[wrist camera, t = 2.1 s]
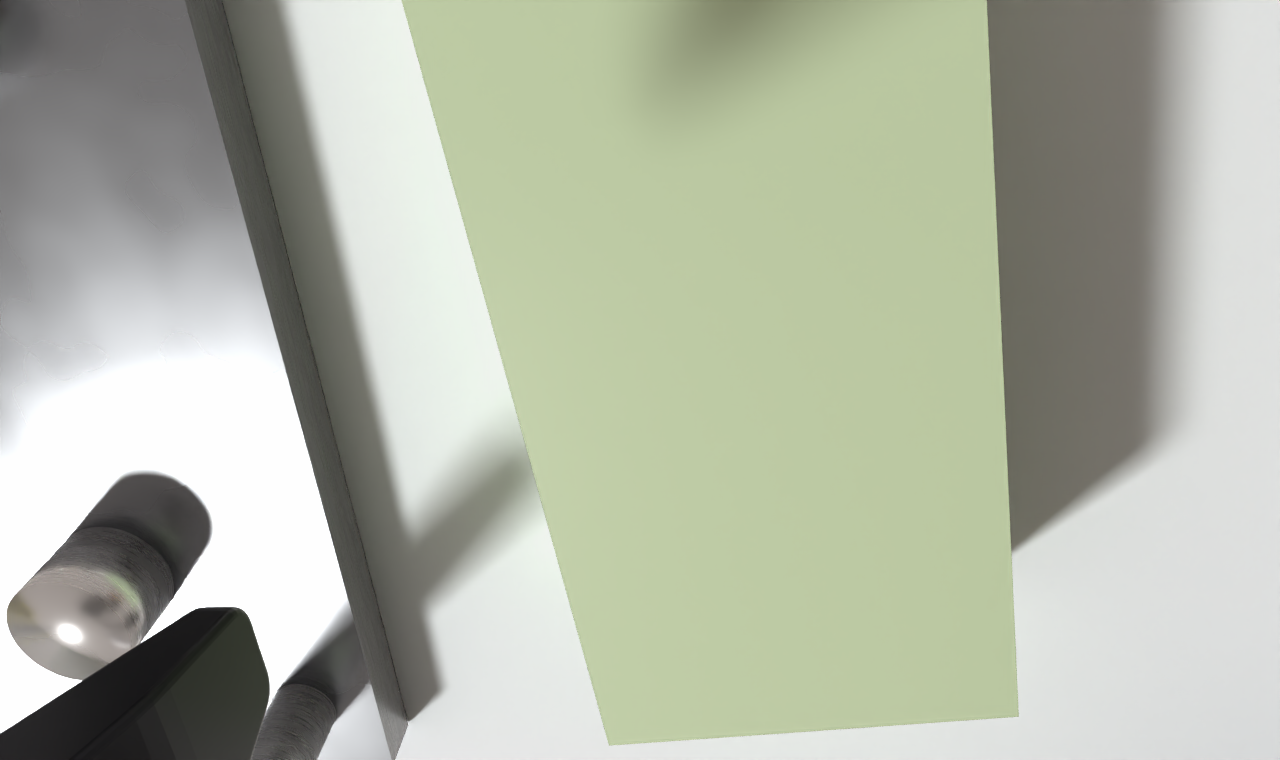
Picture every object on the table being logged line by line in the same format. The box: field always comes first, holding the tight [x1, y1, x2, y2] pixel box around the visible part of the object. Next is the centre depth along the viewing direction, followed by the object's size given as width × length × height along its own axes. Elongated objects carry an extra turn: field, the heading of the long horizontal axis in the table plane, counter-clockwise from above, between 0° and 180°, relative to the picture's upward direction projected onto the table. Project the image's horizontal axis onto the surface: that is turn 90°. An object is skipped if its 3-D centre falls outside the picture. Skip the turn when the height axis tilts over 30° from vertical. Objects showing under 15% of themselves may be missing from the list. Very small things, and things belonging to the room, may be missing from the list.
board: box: [402, 0, 1019, 745], centre depth 15 cm, size 6×12×4 cm, turn 11°
